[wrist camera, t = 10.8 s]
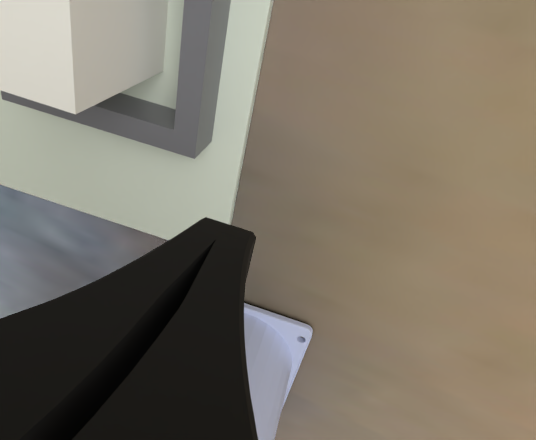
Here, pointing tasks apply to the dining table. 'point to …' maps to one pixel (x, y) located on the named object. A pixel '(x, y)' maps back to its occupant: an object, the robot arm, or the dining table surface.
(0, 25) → the plug
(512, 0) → the dining table surface
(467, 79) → the dining table surface
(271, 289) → the dining table surface
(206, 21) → the socket board
